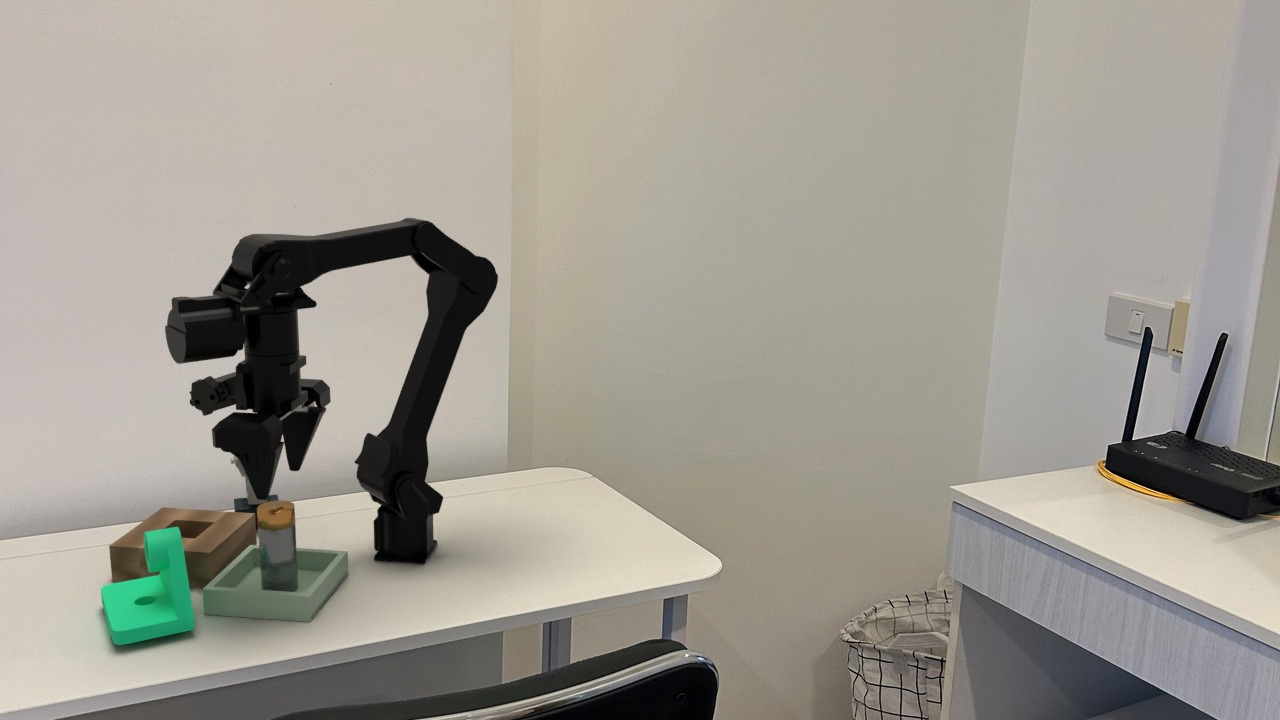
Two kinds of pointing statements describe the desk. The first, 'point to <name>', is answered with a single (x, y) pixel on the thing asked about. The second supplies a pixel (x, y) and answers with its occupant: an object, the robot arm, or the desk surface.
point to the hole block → (187, 543)
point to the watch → (249, 495)
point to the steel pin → (277, 546)
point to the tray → (245, 597)
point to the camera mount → (152, 594)
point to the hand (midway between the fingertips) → (279, 484)
